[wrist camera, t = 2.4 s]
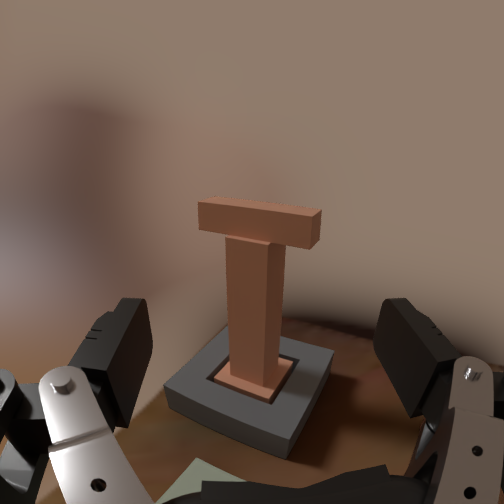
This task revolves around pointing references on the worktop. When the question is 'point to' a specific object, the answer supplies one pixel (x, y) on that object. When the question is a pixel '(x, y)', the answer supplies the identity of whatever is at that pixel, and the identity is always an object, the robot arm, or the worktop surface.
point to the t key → (257, 286)
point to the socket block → (246, 408)
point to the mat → (195, 480)
